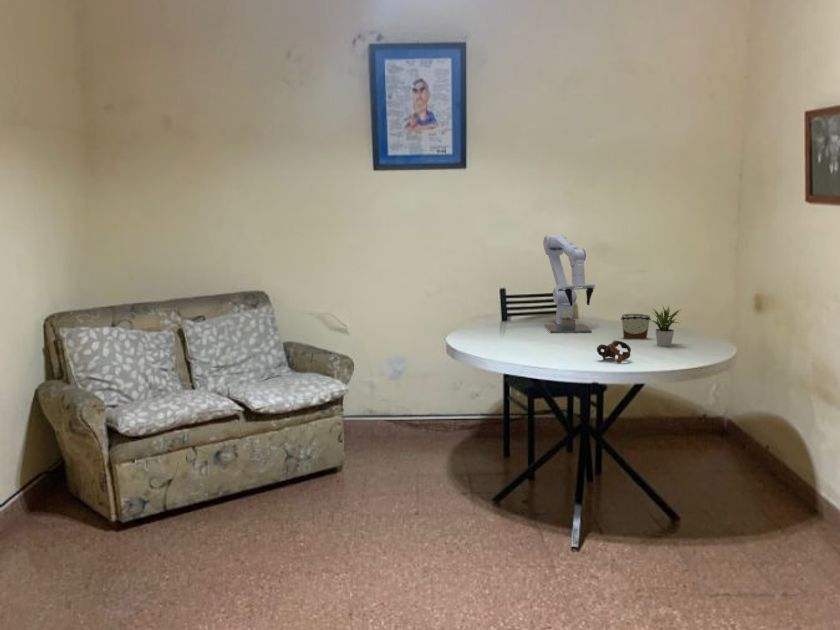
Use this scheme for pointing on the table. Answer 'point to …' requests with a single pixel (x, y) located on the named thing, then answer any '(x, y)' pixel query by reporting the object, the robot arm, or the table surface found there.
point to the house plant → (664, 327)
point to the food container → (635, 326)
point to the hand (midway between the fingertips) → (579, 305)
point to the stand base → (567, 327)
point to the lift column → (567, 313)
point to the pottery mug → (614, 351)
